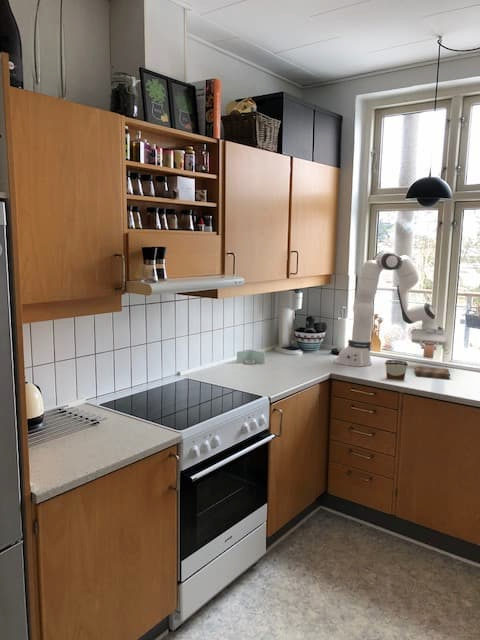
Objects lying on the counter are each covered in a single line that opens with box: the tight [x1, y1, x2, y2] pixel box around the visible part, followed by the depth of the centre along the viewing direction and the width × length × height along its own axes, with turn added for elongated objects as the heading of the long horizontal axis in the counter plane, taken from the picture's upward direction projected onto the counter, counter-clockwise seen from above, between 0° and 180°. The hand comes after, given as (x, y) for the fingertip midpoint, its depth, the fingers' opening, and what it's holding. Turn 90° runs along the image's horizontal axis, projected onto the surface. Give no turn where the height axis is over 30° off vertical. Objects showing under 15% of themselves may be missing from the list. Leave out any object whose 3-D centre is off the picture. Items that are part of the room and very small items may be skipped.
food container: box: [384, 359, 409, 381], centre depth 282 cm, size 12×6×10 cm, turn 84°
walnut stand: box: [414, 365, 451, 380], centre depth 293 cm, size 18×13×3 cm
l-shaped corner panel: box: [236, 348, 266, 366], centre depth 306 cm, size 12×12×8 cm
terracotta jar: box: [422, 341, 436, 359], centre depth 305 cm, size 6×6×9 cm
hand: (429, 348), depth 305 cm, fingers closed on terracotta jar, 6 cm apart
